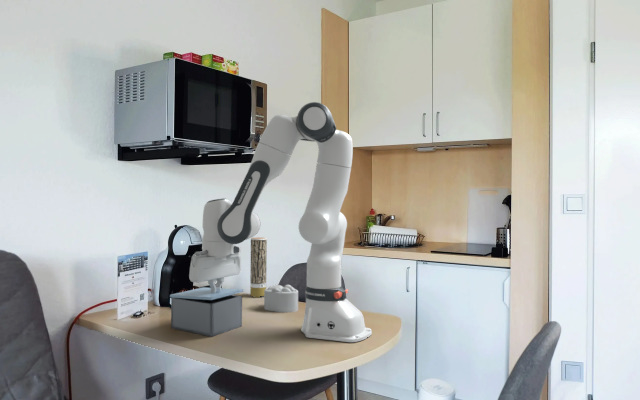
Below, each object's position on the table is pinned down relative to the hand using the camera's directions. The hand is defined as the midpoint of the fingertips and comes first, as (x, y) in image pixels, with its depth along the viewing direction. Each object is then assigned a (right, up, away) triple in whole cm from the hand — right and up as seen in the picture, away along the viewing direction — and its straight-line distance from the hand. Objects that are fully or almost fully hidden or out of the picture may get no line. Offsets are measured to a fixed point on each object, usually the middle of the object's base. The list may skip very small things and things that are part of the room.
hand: (215, 292), depth 147 cm
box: (-3, -12, +2) cm, 12 cm away
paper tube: (+7, -12, +51) cm, 53 cm away
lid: (-3, -1, +2) cm, 4 cm away
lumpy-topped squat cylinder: (+19, -12, +28) cm, 36 cm away
